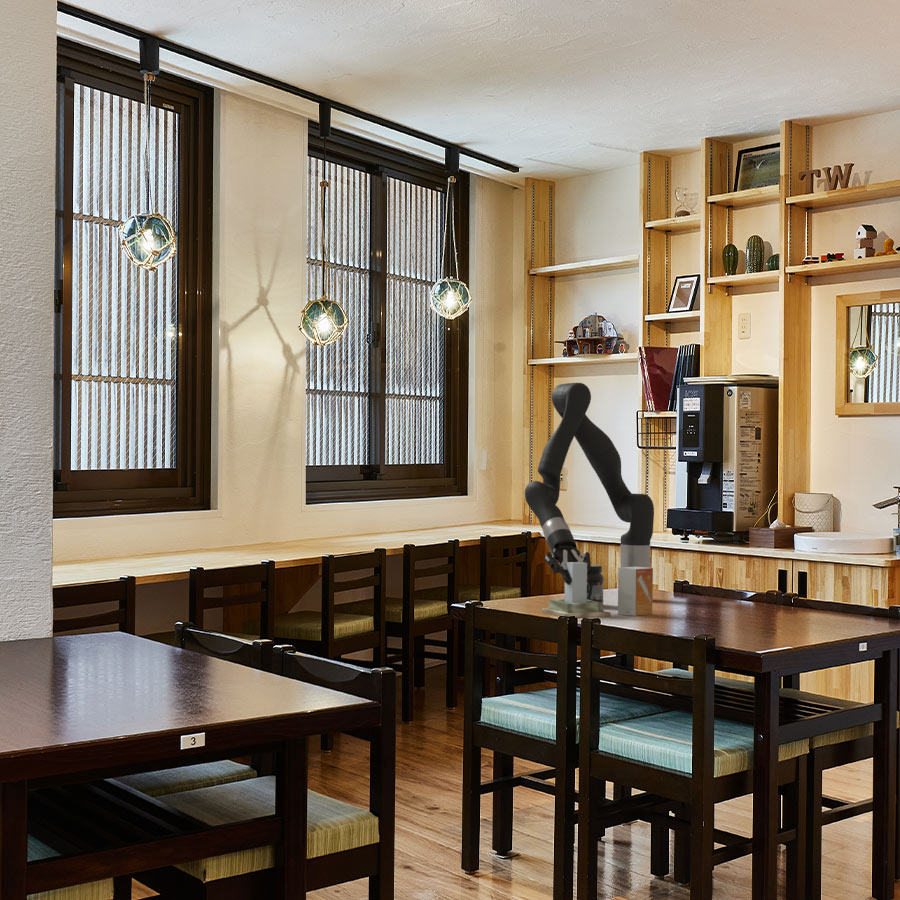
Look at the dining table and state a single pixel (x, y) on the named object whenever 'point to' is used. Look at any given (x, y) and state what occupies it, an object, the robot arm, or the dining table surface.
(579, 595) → the block
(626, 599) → the small box
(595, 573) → the supplement container
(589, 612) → the cradle jig
